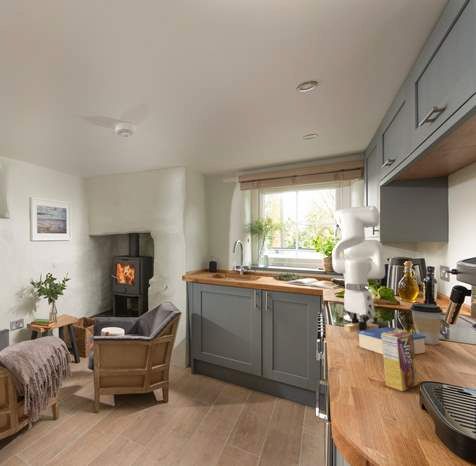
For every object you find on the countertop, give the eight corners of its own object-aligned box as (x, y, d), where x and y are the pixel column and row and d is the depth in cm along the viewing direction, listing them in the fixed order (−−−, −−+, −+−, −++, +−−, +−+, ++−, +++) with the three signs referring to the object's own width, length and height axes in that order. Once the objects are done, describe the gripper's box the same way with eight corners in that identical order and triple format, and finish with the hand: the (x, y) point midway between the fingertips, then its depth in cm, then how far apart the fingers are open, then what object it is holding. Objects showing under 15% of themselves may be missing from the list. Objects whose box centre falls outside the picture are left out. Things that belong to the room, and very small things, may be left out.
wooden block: (368, 326, 131) (367, 320, 131) (378, 329, 127) (378, 322, 127) (342, 330, 127) (341, 323, 128) (352, 333, 123) (351, 326, 123)
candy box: (400, 378, 89) (396, 328, 89) (418, 384, 85) (414, 332, 85) (383, 385, 85) (380, 332, 86) (402, 391, 81) (398, 336, 82)
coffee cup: (412, 342, 119) (409, 305, 119) (412, 337, 125) (409, 302, 126) (446, 348, 112) (443, 308, 113) (444, 341, 119) (441, 304, 119)
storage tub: (388, 341, 120) (387, 327, 121) (426, 352, 108) (425, 336, 108) (358, 346, 116) (357, 331, 116) (393, 358, 104) (392, 341, 104)
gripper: (383, 289, 121) (386, 333, 120) (345, 284, 136) (348, 323, 136) (369, 291, 119) (372, 336, 118) (332, 285, 134) (335, 325, 134)
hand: (359, 328), depth 127 cm, fingers closed on wooden block, 2 cm apart
